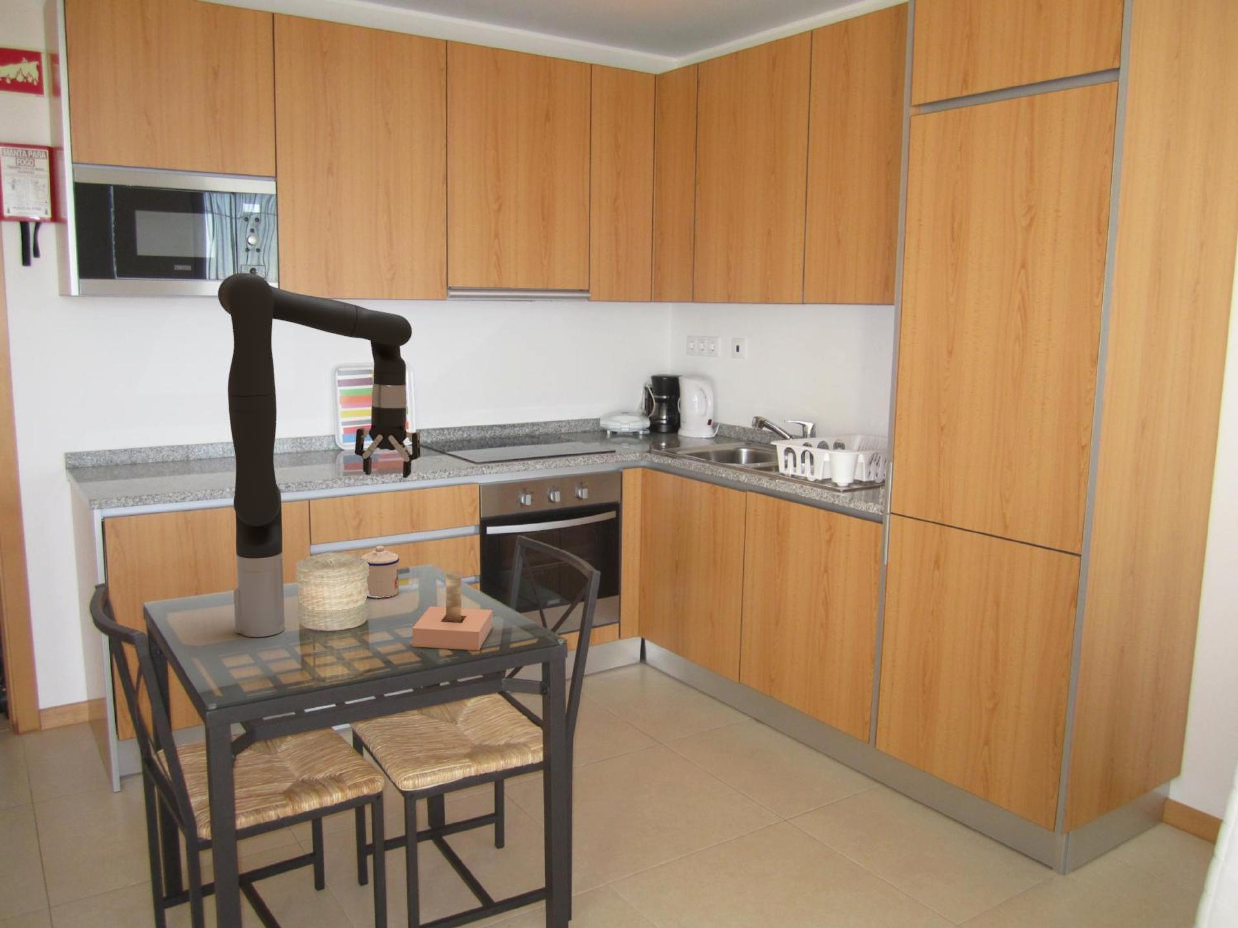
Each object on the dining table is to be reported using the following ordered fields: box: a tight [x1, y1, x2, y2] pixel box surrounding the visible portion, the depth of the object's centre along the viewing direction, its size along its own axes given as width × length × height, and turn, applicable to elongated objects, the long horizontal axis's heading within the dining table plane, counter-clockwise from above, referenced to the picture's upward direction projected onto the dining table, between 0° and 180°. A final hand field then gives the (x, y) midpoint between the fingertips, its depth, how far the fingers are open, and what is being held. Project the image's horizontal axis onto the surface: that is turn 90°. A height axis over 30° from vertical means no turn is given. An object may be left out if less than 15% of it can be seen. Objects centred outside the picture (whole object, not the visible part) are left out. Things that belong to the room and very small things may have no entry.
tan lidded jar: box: [360, 545, 400, 597], centre depth 245 cm, size 12×9×12 cm
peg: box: [445, 571, 462, 623], centre depth 216 cm, size 3×3×14 cm
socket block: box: [411, 606, 494, 651], centre depth 217 cm, size 14×14×4 cm
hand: (387, 476), depth 228 cm, fingers open, 8 cm apart
